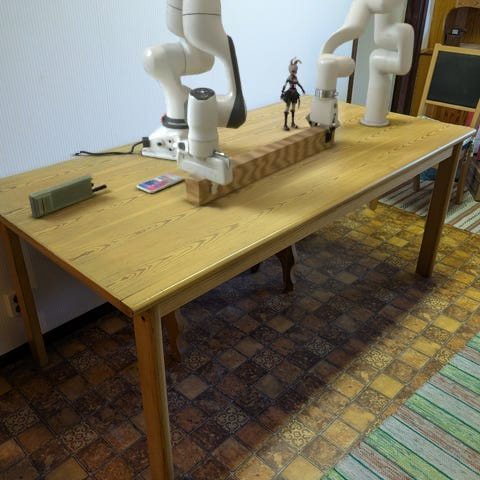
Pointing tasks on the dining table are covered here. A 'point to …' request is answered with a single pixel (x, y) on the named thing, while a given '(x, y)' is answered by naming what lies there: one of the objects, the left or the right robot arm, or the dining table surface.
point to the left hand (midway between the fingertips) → (204, 190)
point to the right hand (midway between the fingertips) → (321, 139)
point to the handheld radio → (62, 195)
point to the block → (261, 163)
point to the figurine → (291, 93)
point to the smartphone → (159, 182)
